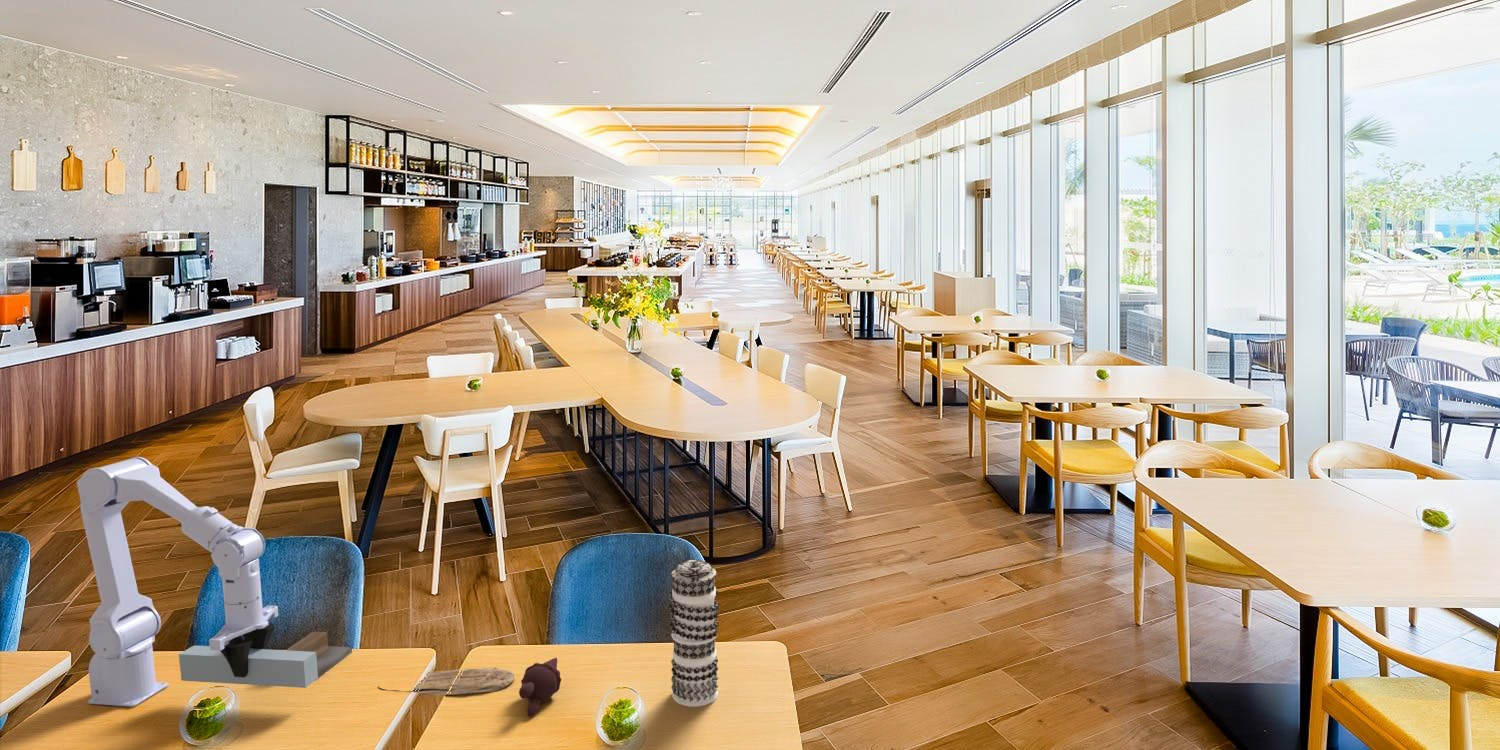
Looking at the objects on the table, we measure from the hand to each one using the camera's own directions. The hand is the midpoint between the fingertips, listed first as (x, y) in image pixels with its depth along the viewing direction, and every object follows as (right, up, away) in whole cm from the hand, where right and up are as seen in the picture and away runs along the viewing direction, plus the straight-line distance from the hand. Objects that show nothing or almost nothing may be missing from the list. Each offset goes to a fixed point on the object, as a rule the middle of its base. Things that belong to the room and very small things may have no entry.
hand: (248, 670), depth 150 cm
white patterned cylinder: (+80, -6, +4) cm, 80 cm away
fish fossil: (+32, -6, +9) cm, 34 cm away
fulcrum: (+2, -4, +16) cm, 16 cm away
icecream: (+52, -6, +3) cm, 52 cm away
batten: (0, -2, 0) cm, 2 cm away
